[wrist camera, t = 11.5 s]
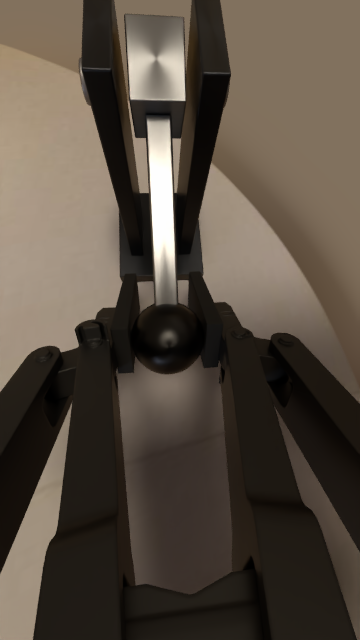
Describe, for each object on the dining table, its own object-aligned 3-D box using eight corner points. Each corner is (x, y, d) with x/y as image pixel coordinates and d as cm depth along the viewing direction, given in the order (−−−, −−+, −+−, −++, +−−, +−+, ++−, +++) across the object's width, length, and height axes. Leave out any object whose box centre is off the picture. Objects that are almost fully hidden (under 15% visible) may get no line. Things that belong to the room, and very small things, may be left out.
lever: (198, 358, 14) (211, 384, 10) (137, 362, 14) (129, 389, 10) (192, 84, 12) (205, -3, 8) (118, 81, 11) (100, -9, 8)
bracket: (201, 279, 21) (267, 116, 8) (122, 282, 21) (44, 111, 7) (194, 201, 23) (238, -42, 9) (121, 202, 22) (56, -56, 9)
